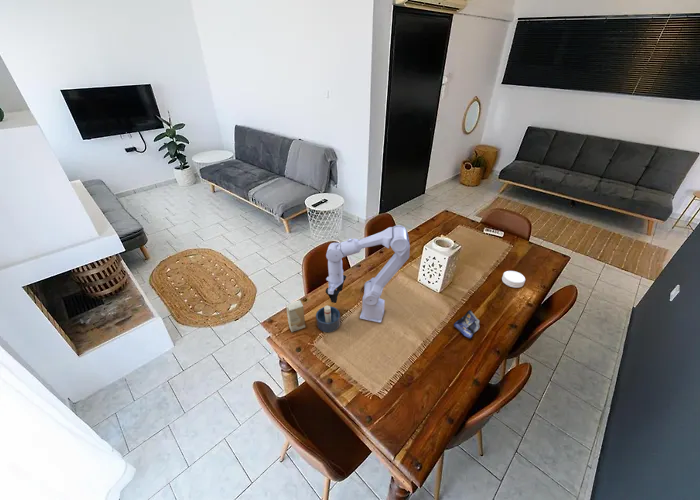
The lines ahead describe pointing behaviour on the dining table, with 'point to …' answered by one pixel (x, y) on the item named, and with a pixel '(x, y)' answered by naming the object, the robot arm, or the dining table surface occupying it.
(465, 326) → the snack package
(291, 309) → the cosmetic box
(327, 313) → the dowel
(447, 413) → the dining table surface
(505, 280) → the white round disc
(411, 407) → the dining table surface
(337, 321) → the holder
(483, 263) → the dining table surface
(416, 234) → the dining table surface
